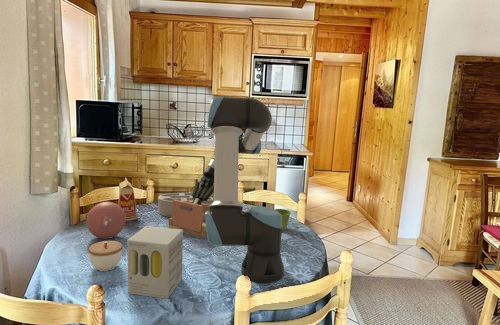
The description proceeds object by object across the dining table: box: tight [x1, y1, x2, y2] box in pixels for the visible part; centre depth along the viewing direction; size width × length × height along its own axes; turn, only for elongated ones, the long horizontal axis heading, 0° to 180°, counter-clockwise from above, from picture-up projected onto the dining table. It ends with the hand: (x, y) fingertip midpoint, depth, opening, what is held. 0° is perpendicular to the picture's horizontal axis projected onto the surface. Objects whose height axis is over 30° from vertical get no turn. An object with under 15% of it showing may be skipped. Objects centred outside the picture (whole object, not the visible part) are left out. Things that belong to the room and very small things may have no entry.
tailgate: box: [171, 200, 203, 233], centre depth 155 cm, size 2×16×12 cm, turn 62°
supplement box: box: [127, 225, 184, 300], centre depth 110 cm, size 13×13×18 cm
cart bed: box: [168, 201, 210, 239], centre depth 163 cm, size 16×20×10 cm
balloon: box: [85, 201, 127, 240], centre depth 144 cm, size 15×20×15 cm
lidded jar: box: [88, 240, 123, 272], centre depth 121 cm, size 11×11×9 cm
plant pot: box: [273, 208, 292, 232], centre depth 168 cm, size 9×9×9 cm
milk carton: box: [117, 177, 138, 222], centre depth 171 cm, size 9×9×20 cm
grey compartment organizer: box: [157, 192, 214, 218], centre depth 187 cm, size 17×28×9 cm, turn 107°
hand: (192, 211), depth 159 cm, fingers closed
